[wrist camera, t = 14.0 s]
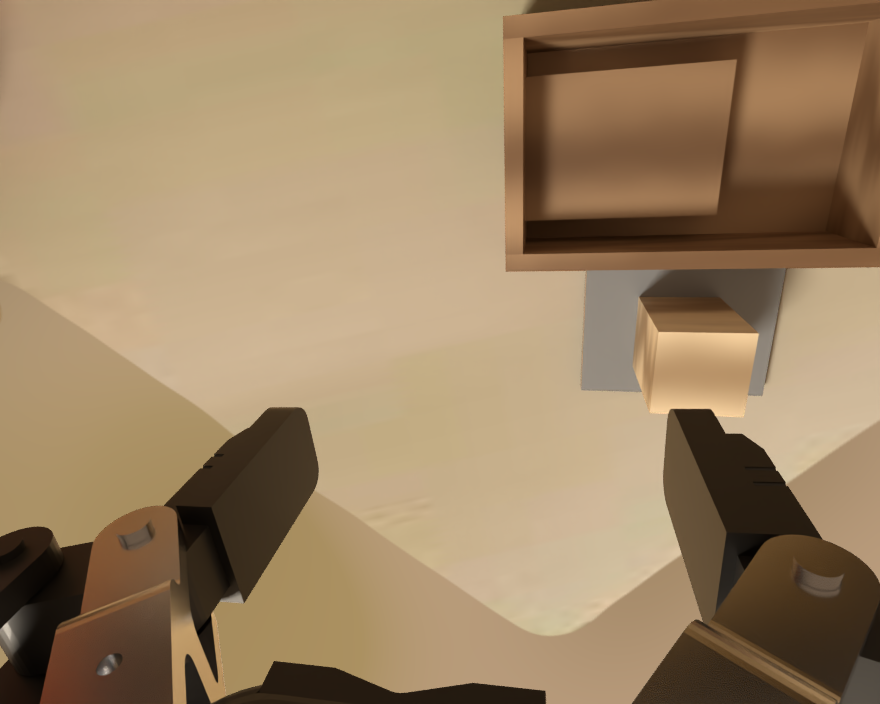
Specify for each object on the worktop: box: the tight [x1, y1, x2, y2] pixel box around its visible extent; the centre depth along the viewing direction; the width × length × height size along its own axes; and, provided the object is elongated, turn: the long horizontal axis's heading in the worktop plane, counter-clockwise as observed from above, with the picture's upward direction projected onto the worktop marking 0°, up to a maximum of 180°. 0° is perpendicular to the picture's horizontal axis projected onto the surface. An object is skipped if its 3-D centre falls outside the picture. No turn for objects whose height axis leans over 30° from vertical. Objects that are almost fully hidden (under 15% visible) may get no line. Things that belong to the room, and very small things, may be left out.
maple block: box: [632, 297, 759, 417], centre depth 32 cm, size 5×5×7 cm
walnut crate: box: [503, 0, 880, 272], centre depth 30 cm, size 13×20×6 cm, turn 94°
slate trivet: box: [581, 268, 786, 396], centre depth 36 cm, size 9×12×1 cm
